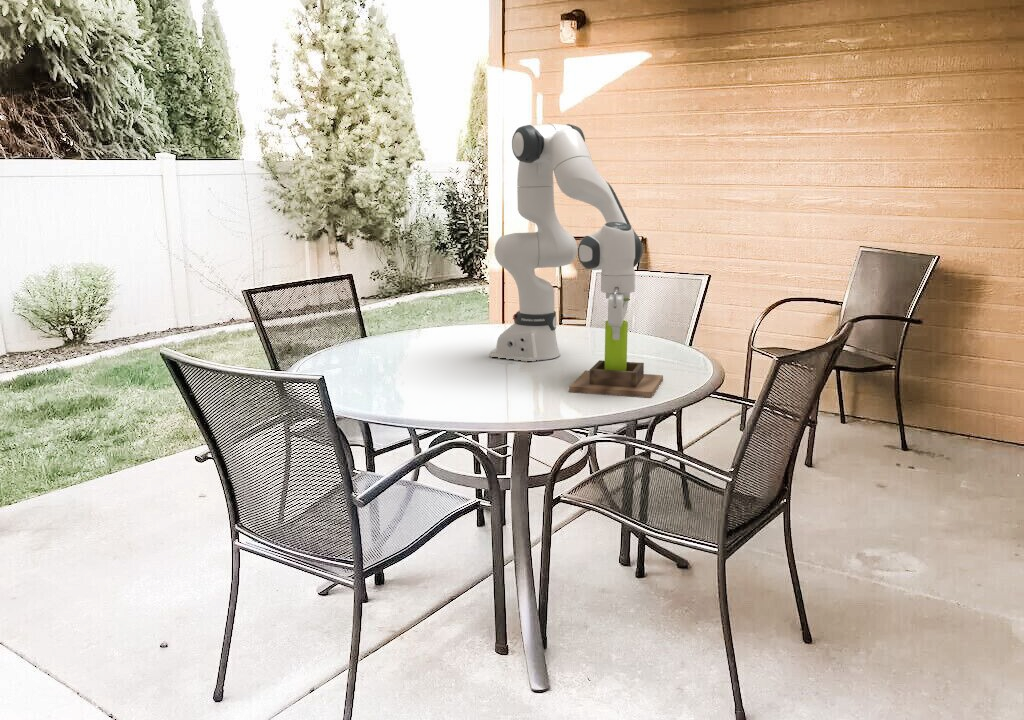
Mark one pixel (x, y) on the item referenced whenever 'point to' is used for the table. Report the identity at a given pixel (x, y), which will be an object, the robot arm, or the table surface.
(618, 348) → the soap dispenser
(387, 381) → the table surface
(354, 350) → the table surface
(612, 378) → the caddy
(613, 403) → the table surface
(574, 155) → the robot arm
